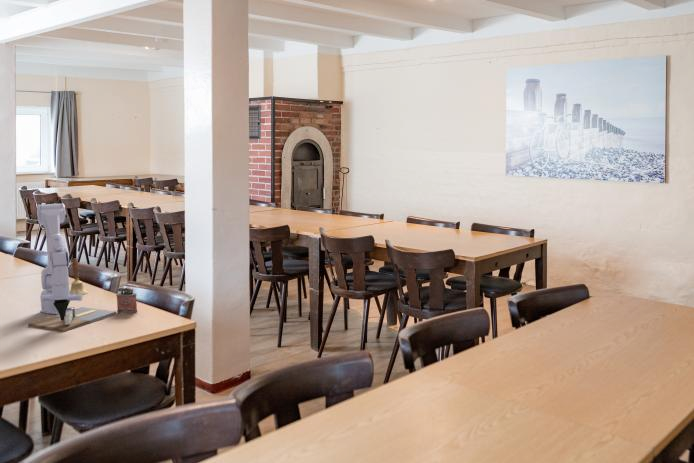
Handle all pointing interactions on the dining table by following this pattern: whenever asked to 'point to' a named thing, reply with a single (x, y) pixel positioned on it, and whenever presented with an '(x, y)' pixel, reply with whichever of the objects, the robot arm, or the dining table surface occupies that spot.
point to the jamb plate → (58, 323)
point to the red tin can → (126, 301)
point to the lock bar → (69, 315)
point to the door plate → (91, 314)
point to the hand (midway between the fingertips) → (63, 319)
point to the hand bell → (77, 281)
